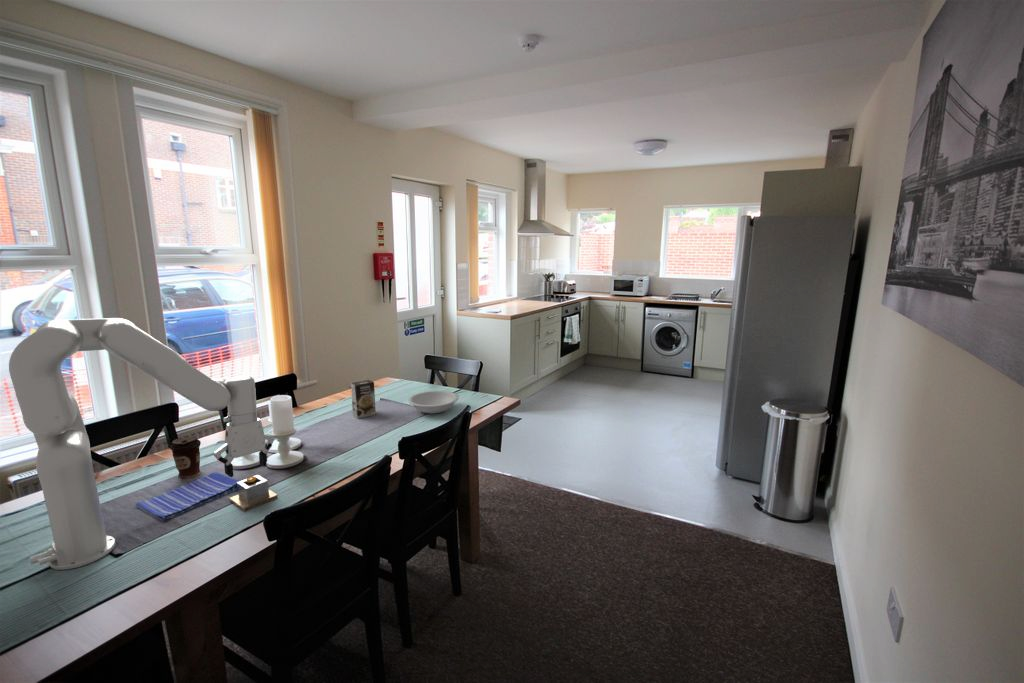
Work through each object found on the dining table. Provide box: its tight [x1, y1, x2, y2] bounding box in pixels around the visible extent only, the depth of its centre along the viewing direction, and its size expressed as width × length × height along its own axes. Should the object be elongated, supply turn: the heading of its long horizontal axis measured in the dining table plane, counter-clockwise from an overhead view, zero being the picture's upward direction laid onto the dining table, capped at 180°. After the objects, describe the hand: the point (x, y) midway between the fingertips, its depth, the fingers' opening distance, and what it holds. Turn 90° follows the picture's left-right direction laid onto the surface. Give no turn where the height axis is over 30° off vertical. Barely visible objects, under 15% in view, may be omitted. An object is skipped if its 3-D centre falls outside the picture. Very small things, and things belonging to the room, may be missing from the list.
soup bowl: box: [407, 390, 460, 414], centre depth 225 cm, size 24×24×7 cm
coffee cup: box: [169, 436, 201, 479], centre depth 161 cm, size 9×8×13 cm
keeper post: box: [229, 476, 278, 512], centre depth 145 cm, size 10×10×7 cm
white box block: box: [237, 474, 270, 504], centre depth 146 cm, size 6×6×5 cm
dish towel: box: [135, 471, 241, 522], centre depth 148 cm, size 17×24×3 cm
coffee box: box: [350, 379, 377, 419], centre depth 219 cm, size 9×6×16 cm
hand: (247, 470), depth 144 cm, fingers open, 9 cm apart
